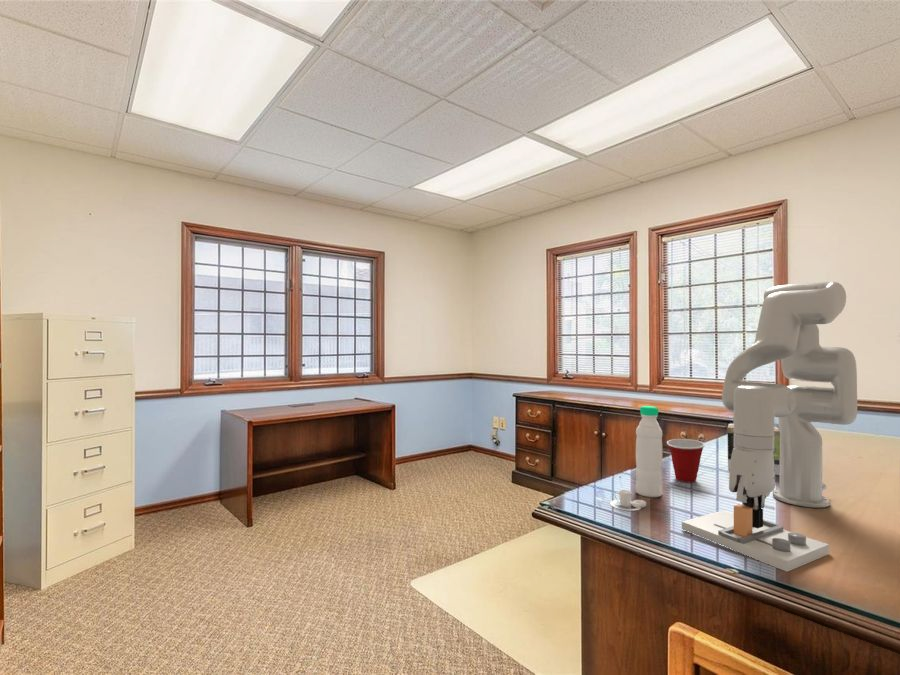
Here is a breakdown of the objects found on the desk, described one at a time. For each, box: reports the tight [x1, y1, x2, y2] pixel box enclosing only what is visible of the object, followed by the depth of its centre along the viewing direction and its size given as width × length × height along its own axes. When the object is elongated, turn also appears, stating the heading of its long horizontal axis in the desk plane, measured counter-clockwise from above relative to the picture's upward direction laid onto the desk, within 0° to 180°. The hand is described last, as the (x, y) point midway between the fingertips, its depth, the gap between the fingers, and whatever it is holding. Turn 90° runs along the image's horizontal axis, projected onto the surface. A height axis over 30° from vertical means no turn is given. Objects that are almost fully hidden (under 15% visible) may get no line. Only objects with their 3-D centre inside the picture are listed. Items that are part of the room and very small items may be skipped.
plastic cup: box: [666, 438, 705, 483], centre depth 148 cm, size 11×11×12 cm
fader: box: [733, 503, 752, 537], centre depth 101 cm, size 2×3×6 cm
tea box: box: [726, 423, 780, 476], centre depth 161 cm, size 15×10×15 cm
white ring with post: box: [609, 489, 647, 512], centre depth 124 cm, size 9×8×4 cm
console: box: [681, 509, 830, 573], centre depth 103 cm, size 16×22×4 cm
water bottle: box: [635, 405, 663, 498], centre depth 134 cm, size 7×7×25 cm
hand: (753, 525), depth 103 cm, fingers closed
